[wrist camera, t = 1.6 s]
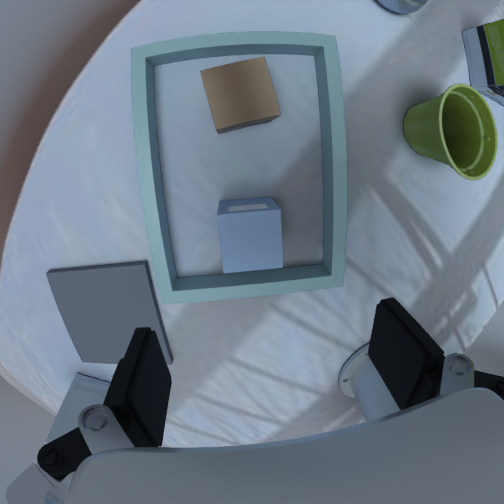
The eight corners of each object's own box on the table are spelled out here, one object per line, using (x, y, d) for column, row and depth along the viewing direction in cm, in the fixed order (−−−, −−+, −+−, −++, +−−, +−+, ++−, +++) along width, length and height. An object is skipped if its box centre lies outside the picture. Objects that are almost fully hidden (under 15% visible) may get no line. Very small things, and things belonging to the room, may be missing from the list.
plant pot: (400, 176, 28) (450, 190, 20) (380, 95, 24) (428, 84, 16) (453, 161, 27) (502, 171, 19) (437, 89, 24) (486, 83, 16)
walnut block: (256, 75, 23) (264, 57, 17) (269, 121, 25) (280, 114, 19) (206, 87, 23) (200, 71, 18) (218, 134, 25) (215, 129, 19)
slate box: (270, 196, 28) (280, 209, 22) (272, 244, 29) (282, 267, 24) (219, 200, 27) (217, 214, 22) (224, 248, 29) (223, 273, 23)
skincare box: (82, 393, 36) (55, 461, 22) (76, 370, 34) (41, 442, 20) (127, 407, 37) (108, 481, 23) (124, 384, 35) (100, 465, 21)
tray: (325, 45, 22) (335, 35, 19) (333, 274, 31) (343, 286, 28) (140, 57, 21) (131, 48, 18) (167, 290, 30) (162, 304, 27)
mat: (147, 260, 29) (144, 264, 28) (173, 359, 34) (172, 364, 33) (49, 270, 28) (45, 273, 27) (84, 357, 33) (82, 361, 32)
